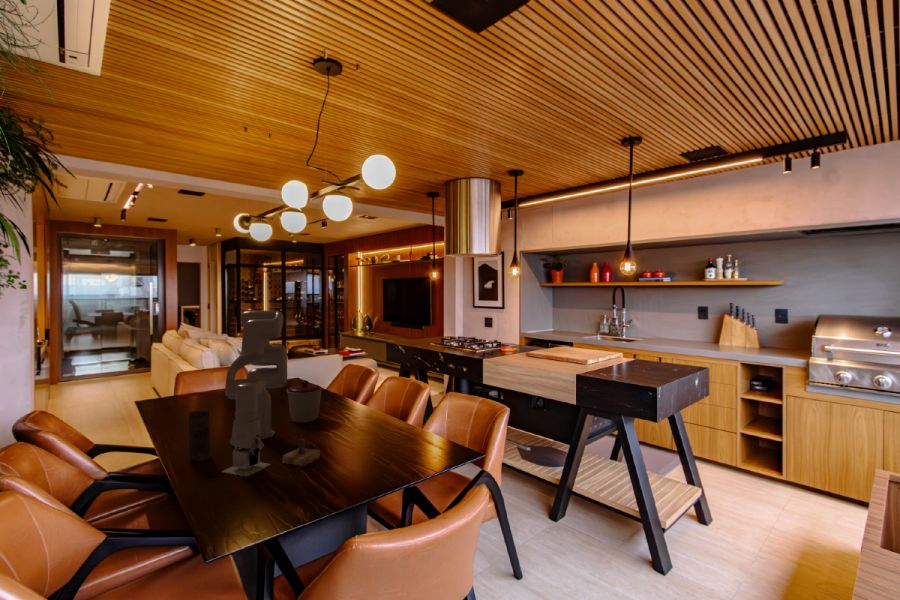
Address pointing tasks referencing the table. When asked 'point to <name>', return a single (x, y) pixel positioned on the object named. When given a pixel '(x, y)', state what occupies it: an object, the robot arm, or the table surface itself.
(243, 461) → the hollow square tube
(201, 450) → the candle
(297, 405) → the canister
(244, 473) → the rubber pad
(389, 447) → the table surface
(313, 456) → the peg stand
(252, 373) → the robot arm
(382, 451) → the table surface
